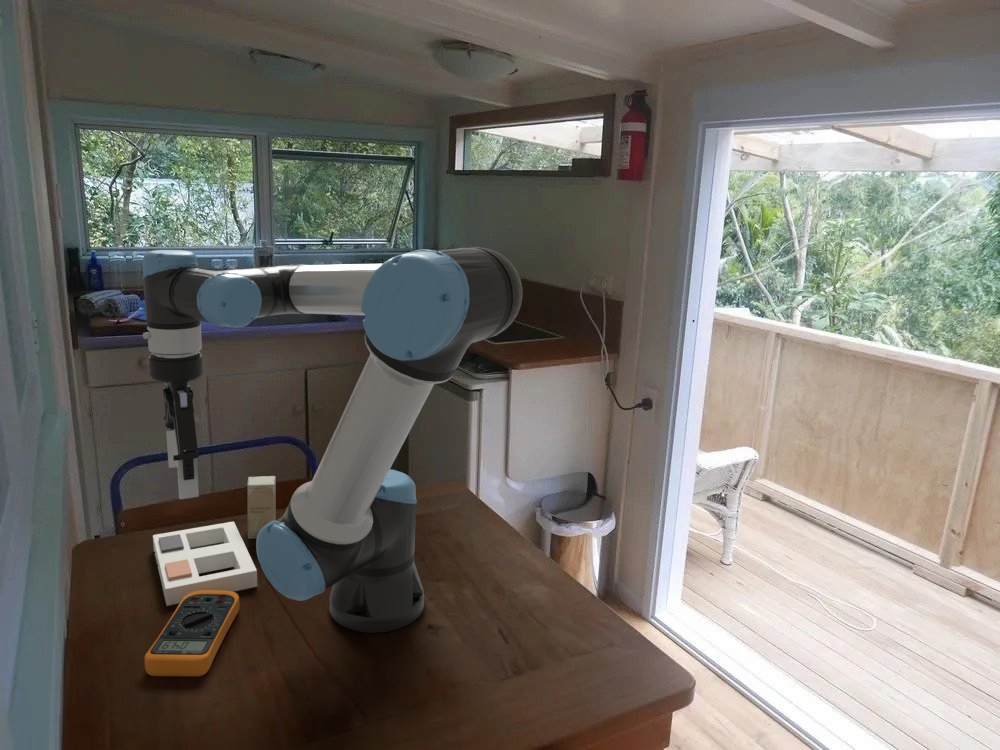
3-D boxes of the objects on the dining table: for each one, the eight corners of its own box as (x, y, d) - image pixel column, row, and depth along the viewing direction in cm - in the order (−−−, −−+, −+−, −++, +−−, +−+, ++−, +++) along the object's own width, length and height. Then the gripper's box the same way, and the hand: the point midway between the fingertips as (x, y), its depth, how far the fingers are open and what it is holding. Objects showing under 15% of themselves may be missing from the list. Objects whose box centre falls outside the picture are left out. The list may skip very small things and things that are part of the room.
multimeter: (243, 607, 118) (242, 588, 118) (206, 680, 101) (205, 659, 100) (189, 606, 118) (187, 587, 117) (142, 680, 101) (140, 658, 100)
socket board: (257, 586, 124) (256, 567, 123) (166, 605, 117) (165, 586, 116) (234, 535, 141) (233, 519, 140) (153, 550, 134) (152, 532, 133)
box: (247, 539, 140) (245, 485, 137) (248, 529, 144) (246, 476, 141) (276, 537, 141) (275, 483, 138) (276, 527, 145) (275, 474, 142)
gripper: (141, 337, 122) (149, 457, 127) (157, 374, 101) (166, 516, 106) (190, 334, 125) (196, 452, 131) (215, 369, 105) (221, 507, 110)
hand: (183, 481), depth 119 cm, fingers open, 13 cm apart
